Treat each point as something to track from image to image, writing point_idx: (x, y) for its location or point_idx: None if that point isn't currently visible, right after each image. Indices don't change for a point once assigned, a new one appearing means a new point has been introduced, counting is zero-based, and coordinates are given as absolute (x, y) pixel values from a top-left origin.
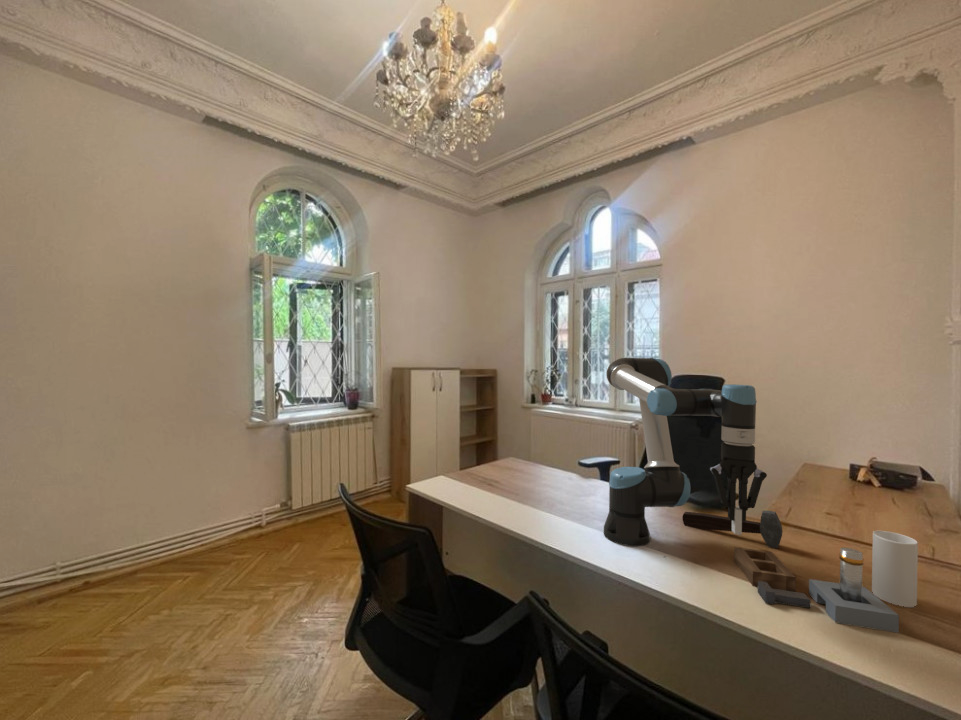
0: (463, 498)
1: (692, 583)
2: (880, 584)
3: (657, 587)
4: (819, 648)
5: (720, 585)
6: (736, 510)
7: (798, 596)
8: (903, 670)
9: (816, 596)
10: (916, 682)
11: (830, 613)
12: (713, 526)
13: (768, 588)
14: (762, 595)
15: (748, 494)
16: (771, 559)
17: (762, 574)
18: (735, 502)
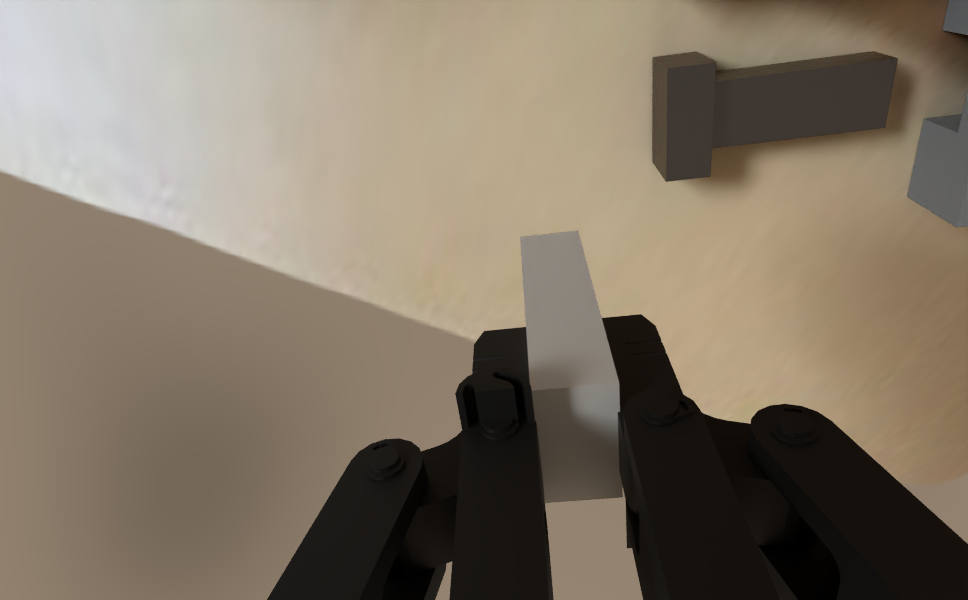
0: None
1: (326, 104)
2: None
3: (177, 223)
4: (727, 388)
5: (468, 57)
6: (555, 490)
7: (838, 115)
8: (940, 399)
9: (964, 28)
10: (932, 436)
11: (926, 164)
12: None
13: (693, 144)
14: (656, 128)
15: (863, 555)
16: None
17: None
18: (551, 577)
